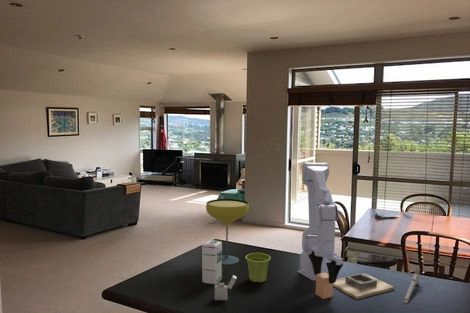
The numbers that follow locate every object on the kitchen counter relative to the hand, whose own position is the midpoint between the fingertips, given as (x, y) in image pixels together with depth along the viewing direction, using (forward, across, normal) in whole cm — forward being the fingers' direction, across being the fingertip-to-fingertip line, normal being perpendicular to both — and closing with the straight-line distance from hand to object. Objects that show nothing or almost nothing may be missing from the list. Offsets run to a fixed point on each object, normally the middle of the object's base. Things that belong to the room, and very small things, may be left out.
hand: (324, 278), depth 125 cm
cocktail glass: (+6, -44, -16) cm, 47 cm away
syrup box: (+6, -27, -30) cm, 41 cm away
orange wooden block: (+6, 0, 0) cm, 6 cm away
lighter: (+6, -12, -32) cm, 34 cm away
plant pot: (+6, -21, -14) cm, 26 cm away
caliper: (+6, +11, +30) cm, 33 cm away
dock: (+6, 0, +17) cm, 18 cm away
